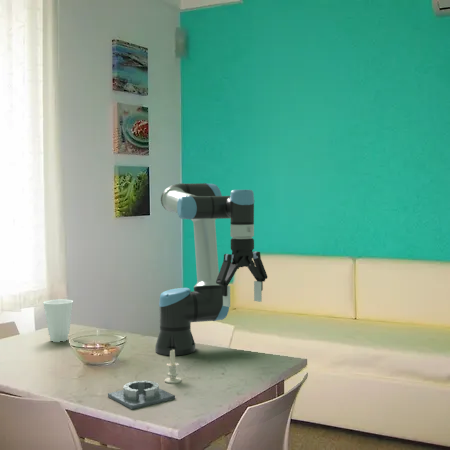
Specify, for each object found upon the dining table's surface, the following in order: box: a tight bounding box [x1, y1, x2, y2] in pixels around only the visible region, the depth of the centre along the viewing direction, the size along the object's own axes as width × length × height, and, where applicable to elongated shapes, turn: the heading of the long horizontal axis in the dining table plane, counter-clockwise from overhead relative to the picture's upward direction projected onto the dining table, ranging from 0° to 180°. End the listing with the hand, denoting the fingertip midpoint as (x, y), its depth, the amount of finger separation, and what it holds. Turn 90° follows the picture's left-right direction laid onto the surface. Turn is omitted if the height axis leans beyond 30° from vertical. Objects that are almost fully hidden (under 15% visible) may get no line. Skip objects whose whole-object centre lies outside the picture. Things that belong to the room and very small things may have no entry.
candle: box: [164, 348, 182, 385], centre depth 189 cm, size 5×5×10 cm
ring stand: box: [107, 380, 176, 410], centre depth 173 cm, size 14×14×4 cm
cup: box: [43, 299, 74, 343], centre depth 247 cm, size 12×12×16 cm
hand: (242, 303), depth 193 cm, fingers open, 13 cm apart
